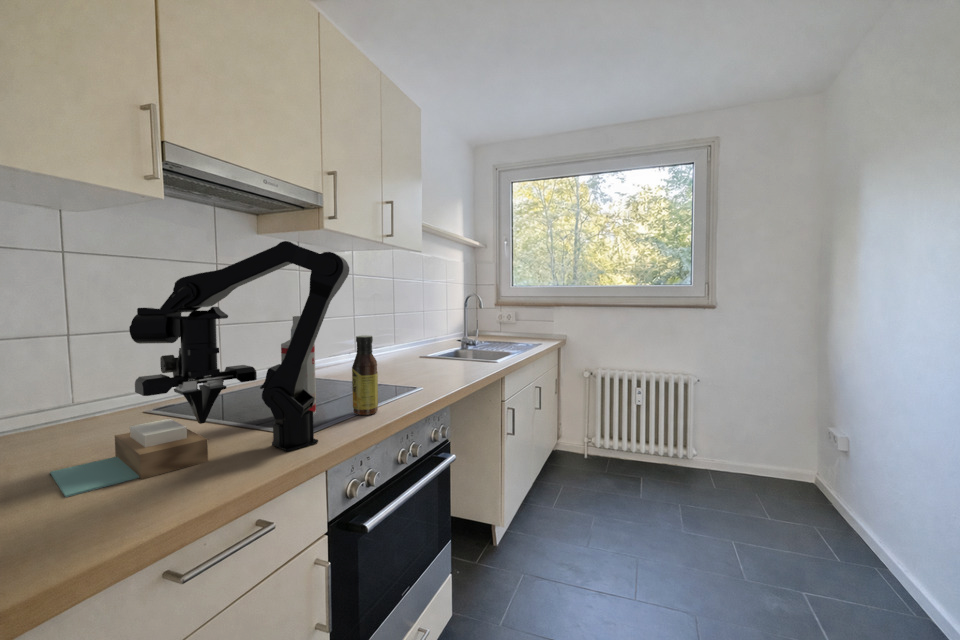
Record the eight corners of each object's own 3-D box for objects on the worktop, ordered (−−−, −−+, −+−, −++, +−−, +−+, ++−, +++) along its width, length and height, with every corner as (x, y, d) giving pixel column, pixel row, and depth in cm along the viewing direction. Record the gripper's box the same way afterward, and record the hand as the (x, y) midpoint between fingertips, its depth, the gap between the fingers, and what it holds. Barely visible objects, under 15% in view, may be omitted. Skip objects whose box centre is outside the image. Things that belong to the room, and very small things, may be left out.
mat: (120, 457, 76) (120, 455, 76) (143, 476, 67) (143, 474, 67) (50, 473, 69) (50, 471, 69) (65, 497, 60) (65, 495, 60)
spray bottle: (277, 415, 103) (274, 316, 102) (305, 409, 109) (303, 315, 108) (293, 421, 99) (291, 316, 98) (321, 414, 105) (320, 315, 104)
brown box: (177, 442, 83) (176, 423, 83) (208, 461, 74) (207, 439, 74) (115, 456, 76) (114, 435, 76) (141, 479, 66) (140, 454, 66)
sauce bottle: (355, 410, 108) (354, 334, 108) (379, 409, 109) (378, 334, 108) (350, 417, 102) (349, 336, 101) (376, 416, 103) (375, 336, 102)
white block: (170, 428, 80) (169, 418, 80) (187, 438, 74) (186, 427, 74) (130, 437, 75) (129, 426, 75) (145, 447, 69) (144, 435, 69)
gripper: (233, 337, 91) (235, 407, 92) (124, 344, 77) (128, 427, 77) (256, 340, 85) (258, 415, 85) (142, 348, 70) (146, 439, 71)
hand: (201, 423), depth 80 cm, fingers closed
